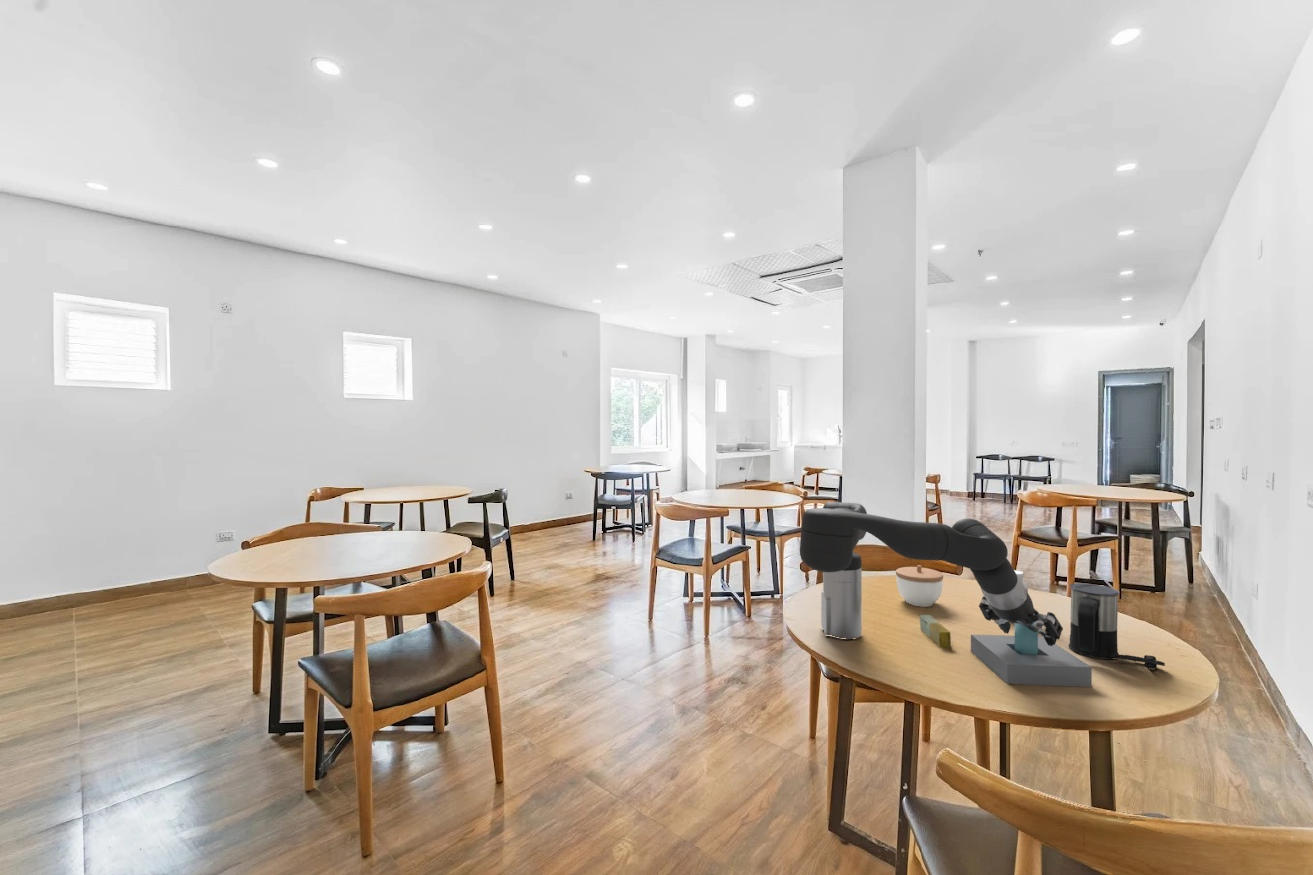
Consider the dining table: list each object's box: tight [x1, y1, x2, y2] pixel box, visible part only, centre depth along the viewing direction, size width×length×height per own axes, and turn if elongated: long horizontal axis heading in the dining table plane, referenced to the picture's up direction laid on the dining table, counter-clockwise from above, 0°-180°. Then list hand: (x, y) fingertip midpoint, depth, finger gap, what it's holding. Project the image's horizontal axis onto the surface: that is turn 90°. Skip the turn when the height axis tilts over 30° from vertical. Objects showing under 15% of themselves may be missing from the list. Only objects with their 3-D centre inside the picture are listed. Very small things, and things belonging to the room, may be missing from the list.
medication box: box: [919, 613, 952, 648], centre depth 137 cm, size 12×3×4 cm, turn 176°
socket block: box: [970, 634, 1093, 688], centre depth 120 cm, size 16×16×4 cm
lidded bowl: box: [895, 564, 944, 608], centre depth 163 cm, size 13×13×11 cm
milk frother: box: [1068, 582, 1166, 670], centre depth 124 cm, size 14×16×15 cm
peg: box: [1014, 622, 1039, 655], centre depth 120 cm, size 4×4×10 cm
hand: (1029, 635), depth 120 cm, fingers open, 8 cm apart
